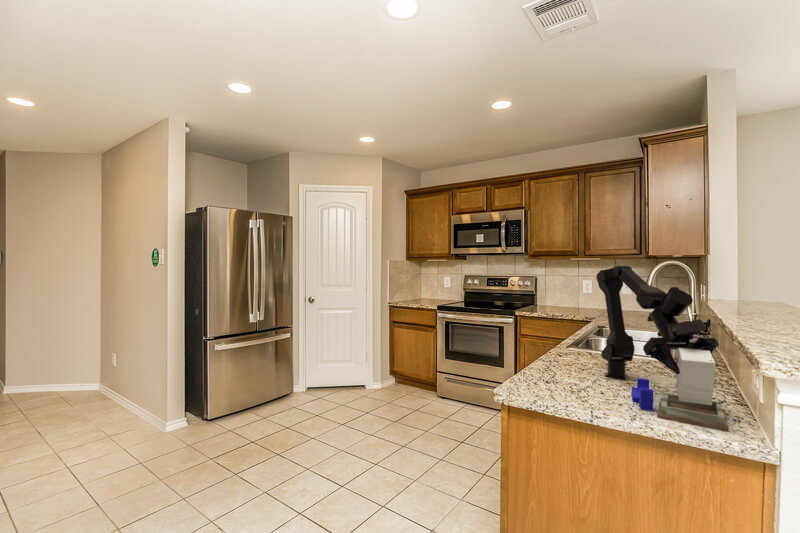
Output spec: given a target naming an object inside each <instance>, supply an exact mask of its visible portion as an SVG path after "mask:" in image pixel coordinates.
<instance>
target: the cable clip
mask: <svg viewBox="0 0 800 533" xmlns="http://www.w3.org/2000/svg"><path fill="white" fill-rule="evenodd" d="M636 379H637V380H636V386H632V387H631V400H632V402H633V403H638V405H639V408H640V410H641V411H647V412H654V389H653V388H652V389H650V379H648V378H639V377H637V378H636Z"/></svg>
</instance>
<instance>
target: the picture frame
mask: <svg viewBox="0 0 800 533" xmlns="http://www.w3.org/2000/svg"><path fill="white" fill-rule="evenodd" d="M722 404H723V403H722V402H721V401H714V400H712V405H704V404H698V403H691V402H684V401H680V400H679V397H678V394H673V393H667V392H663V395H662V398H661V397H660V399H659V404H658V409H657V414H656V418H659V419H664V420H669V421H673V422H677V423H678V422H679V423H683V424H688V425H694V426H699V427H703V428H709V429H712V430H713V429H714V430H717V431H719V430H720V431H723V432H729V430H730V427H729V423H728V417H727V414H726V410H725V408H724V407H723V405H722Z"/></svg>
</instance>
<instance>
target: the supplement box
mask: <svg viewBox="0 0 800 533" xmlns="http://www.w3.org/2000/svg"><path fill="white" fill-rule="evenodd" d="M716 366H717V363H716V361H715V359H714V357H713V354H712V355H711V352H710V351H705V350H694V349H684V348H679V349H678V368H679V370H680V373H679V374H677V378H675V380H676V382H675V389H676V391H677V392H676V393H677V395H678V397H679V400H680V401H684V402H691V403H698V404H704V405H712V401H713V396H714V388H715V387H714V386H715V376H716Z"/></svg>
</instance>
